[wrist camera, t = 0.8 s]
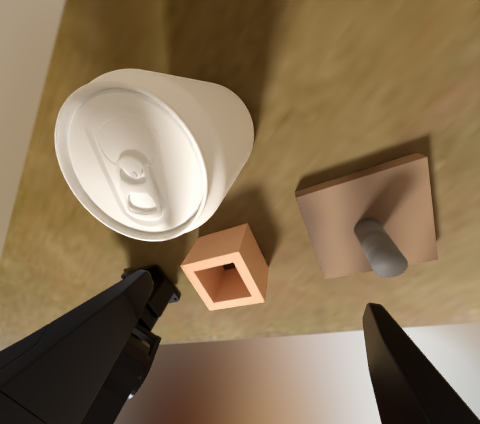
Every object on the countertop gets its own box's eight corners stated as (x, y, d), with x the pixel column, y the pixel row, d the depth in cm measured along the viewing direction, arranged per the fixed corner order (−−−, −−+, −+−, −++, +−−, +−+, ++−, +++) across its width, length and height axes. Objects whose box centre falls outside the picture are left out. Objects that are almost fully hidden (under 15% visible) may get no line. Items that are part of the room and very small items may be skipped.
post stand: (322, 269, 25) (333, 321, 19) (295, 191, 21) (298, 226, 15) (428, 249, 21) (480, 304, 16) (416, 152, 18) (478, 178, 12)
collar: (221, 277, 28) (209, 310, 24) (198, 237, 26) (180, 265, 21) (268, 267, 26) (264, 302, 22) (247, 223, 24) (238, 251, 19)
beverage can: (253, 78, 17) (203, 50, 7) (256, 176, 21) (227, 254, 11) (160, 87, 19) (7, 75, 9) (178, 176, 23) (86, 245, 12)
